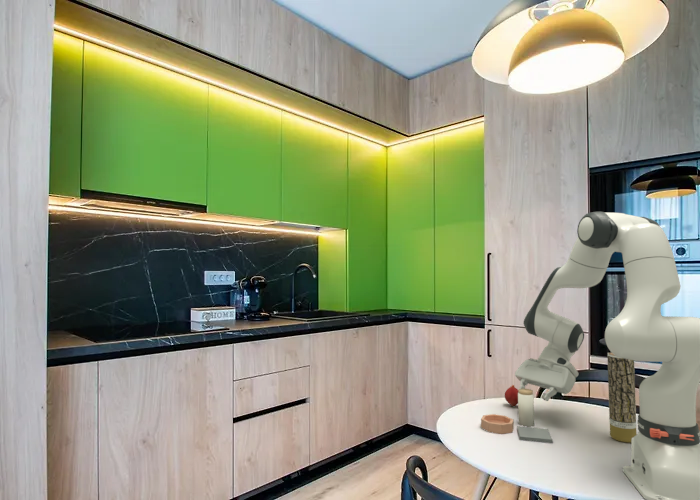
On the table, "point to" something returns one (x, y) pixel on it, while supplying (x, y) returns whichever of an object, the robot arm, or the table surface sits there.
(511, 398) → the onion
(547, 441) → the slate coaster
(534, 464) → the table surface
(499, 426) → the terracotta dish
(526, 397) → the spice jar
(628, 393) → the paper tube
